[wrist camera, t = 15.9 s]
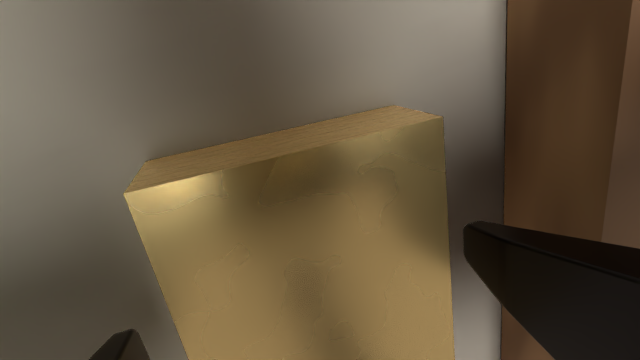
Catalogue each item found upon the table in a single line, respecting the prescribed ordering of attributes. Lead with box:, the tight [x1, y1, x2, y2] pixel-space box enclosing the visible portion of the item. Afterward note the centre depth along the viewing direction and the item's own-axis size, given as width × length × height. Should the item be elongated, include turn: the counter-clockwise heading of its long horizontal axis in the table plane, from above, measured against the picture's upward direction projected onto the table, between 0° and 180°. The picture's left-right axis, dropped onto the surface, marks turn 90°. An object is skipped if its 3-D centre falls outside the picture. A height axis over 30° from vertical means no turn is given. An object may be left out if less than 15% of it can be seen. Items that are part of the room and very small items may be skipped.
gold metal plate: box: [123, 105, 455, 360], centre depth 9 cm, size 7×6×2 cm
